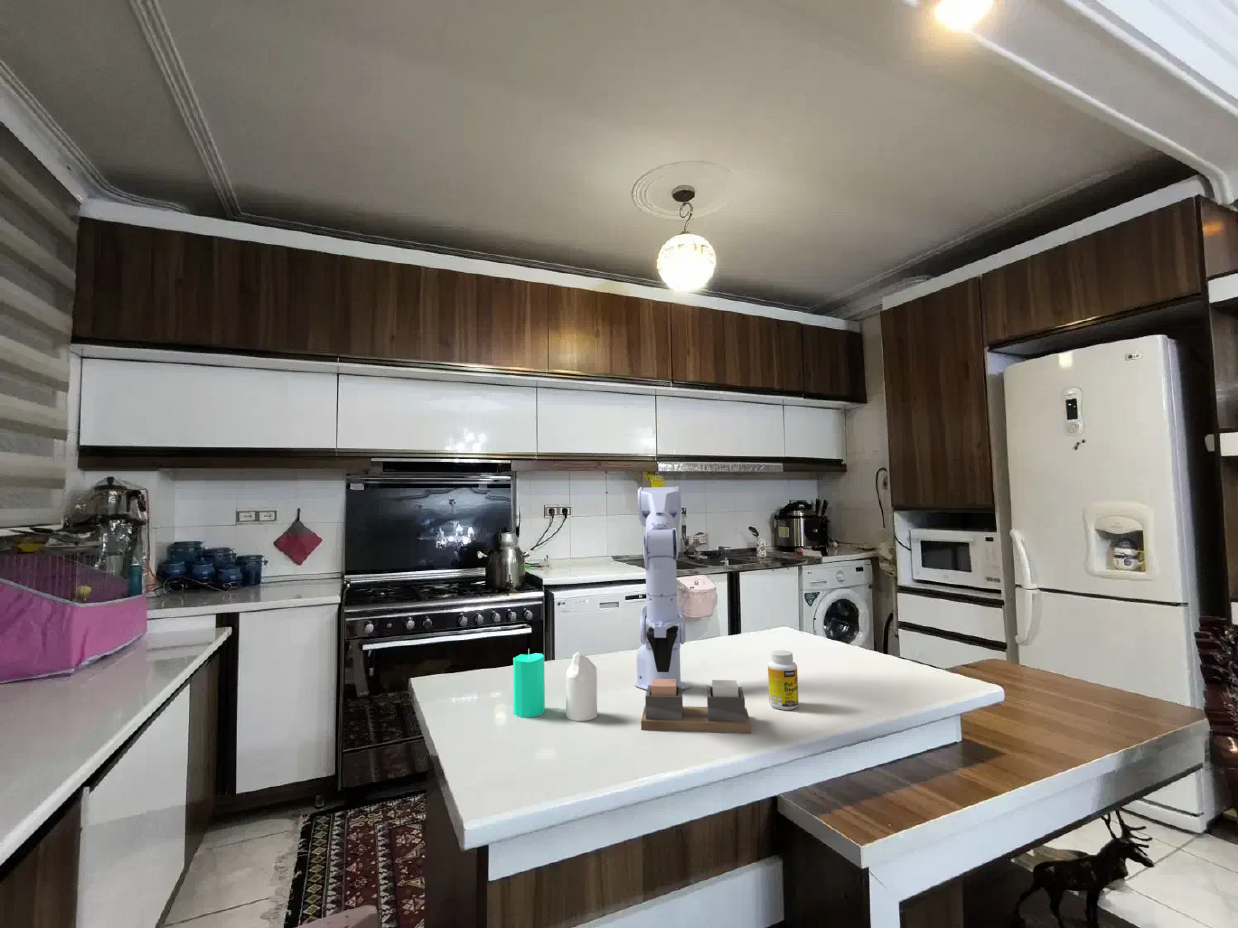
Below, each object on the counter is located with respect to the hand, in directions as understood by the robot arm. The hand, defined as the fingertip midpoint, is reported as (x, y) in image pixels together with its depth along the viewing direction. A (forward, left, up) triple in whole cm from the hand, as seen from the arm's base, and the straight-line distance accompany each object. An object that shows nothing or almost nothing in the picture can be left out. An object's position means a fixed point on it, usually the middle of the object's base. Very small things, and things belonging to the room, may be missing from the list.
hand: (663, 669), depth 105 cm
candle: (-22, -15, -10) cm, 28 cm away
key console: (+4, +4, -9) cm, 11 cm away
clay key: (0, 0, -5) cm, 5 cm away
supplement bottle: (+10, +23, -10) cm, 27 cm away
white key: (+8, +7, -5) cm, 12 cm away
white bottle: (-13, -9, -10) cm, 19 cm away
